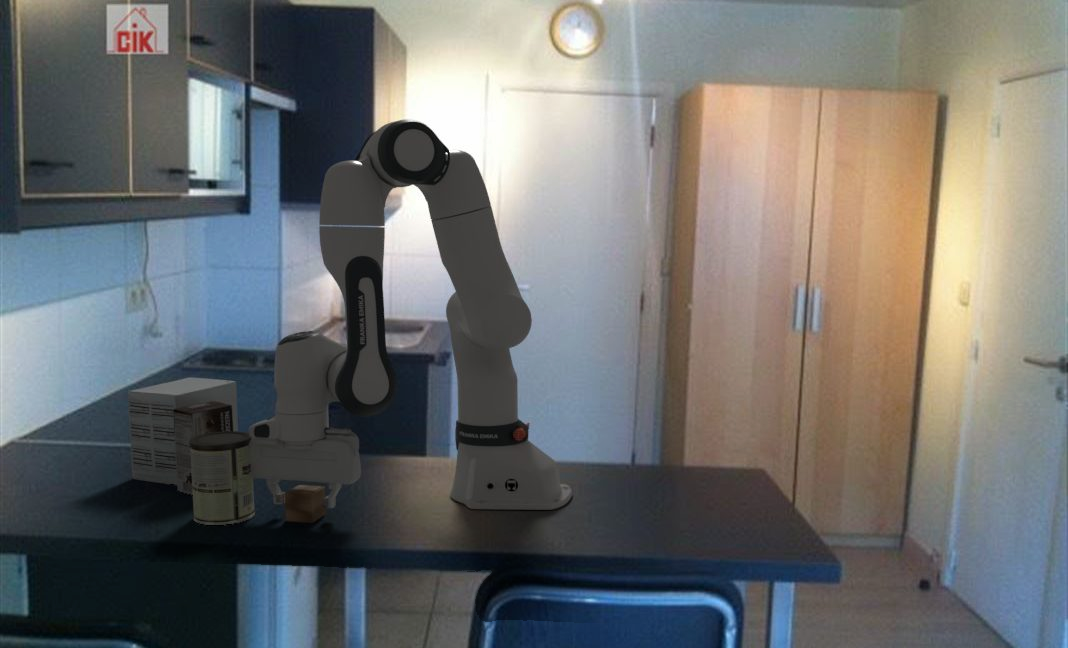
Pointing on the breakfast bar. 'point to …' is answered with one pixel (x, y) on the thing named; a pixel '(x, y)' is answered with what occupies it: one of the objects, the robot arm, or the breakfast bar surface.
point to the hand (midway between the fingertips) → (304, 505)
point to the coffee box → (196, 434)
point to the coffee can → (221, 478)
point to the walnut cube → (305, 503)
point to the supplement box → (168, 422)
